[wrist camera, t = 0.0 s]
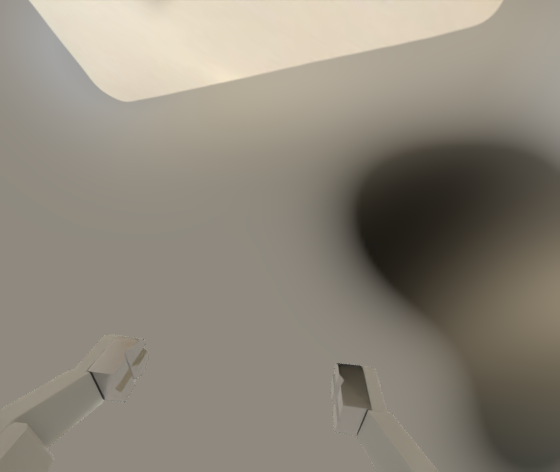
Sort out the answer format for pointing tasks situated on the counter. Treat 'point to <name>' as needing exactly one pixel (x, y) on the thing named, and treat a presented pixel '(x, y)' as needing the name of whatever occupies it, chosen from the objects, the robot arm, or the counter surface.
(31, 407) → the robot arm
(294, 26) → the counter surface
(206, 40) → the counter surface
